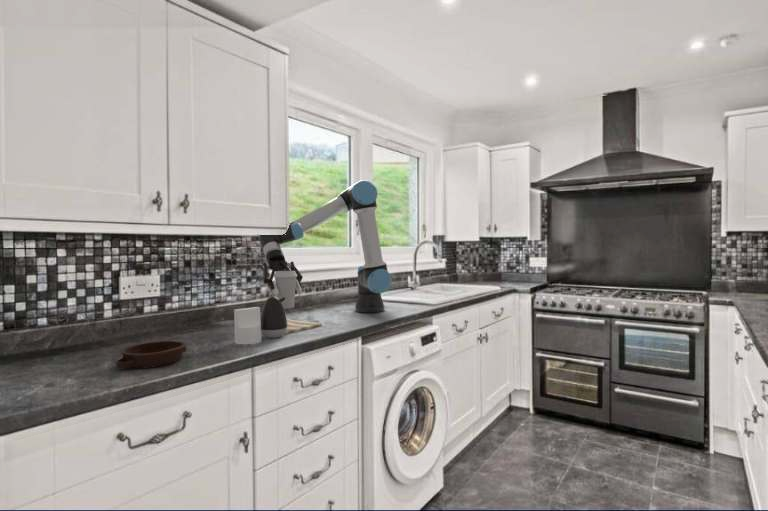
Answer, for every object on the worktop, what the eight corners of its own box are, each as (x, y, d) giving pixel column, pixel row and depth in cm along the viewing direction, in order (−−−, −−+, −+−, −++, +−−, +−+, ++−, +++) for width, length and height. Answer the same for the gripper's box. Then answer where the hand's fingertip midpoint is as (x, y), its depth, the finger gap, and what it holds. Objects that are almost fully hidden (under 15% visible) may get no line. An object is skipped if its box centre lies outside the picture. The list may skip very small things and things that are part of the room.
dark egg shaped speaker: (293, 336, 170) (292, 296, 170) (269, 341, 163) (268, 298, 163) (278, 333, 177) (277, 294, 177) (254, 337, 170) (253, 296, 169)
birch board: (289, 321, 203) (289, 319, 203) (322, 325, 191) (322, 323, 191) (252, 329, 187) (252, 326, 187) (286, 334, 175) (286, 331, 175)
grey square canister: (253, 338, 168) (252, 306, 168) (265, 341, 162) (265, 308, 161) (230, 342, 162) (229, 308, 162) (242, 346, 155) (241, 311, 155)
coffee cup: (302, 307, 189) (301, 271, 188) (282, 309, 182) (281, 272, 182) (289, 305, 195) (289, 270, 195) (269, 307, 189) (269, 271, 188)
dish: (205, 357, 142) (204, 341, 141) (140, 376, 122) (139, 357, 122) (166, 352, 149) (166, 337, 149) (99, 369, 129) (99, 352, 129)
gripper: (295, 259, 207) (310, 297, 194) (247, 261, 195) (260, 301, 182) (299, 248, 203) (316, 286, 190) (251, 249, 190) (264, 289, 177)
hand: (288, 293), depth 186 cm, fingers closed on coffee cup, 9 cm apart
